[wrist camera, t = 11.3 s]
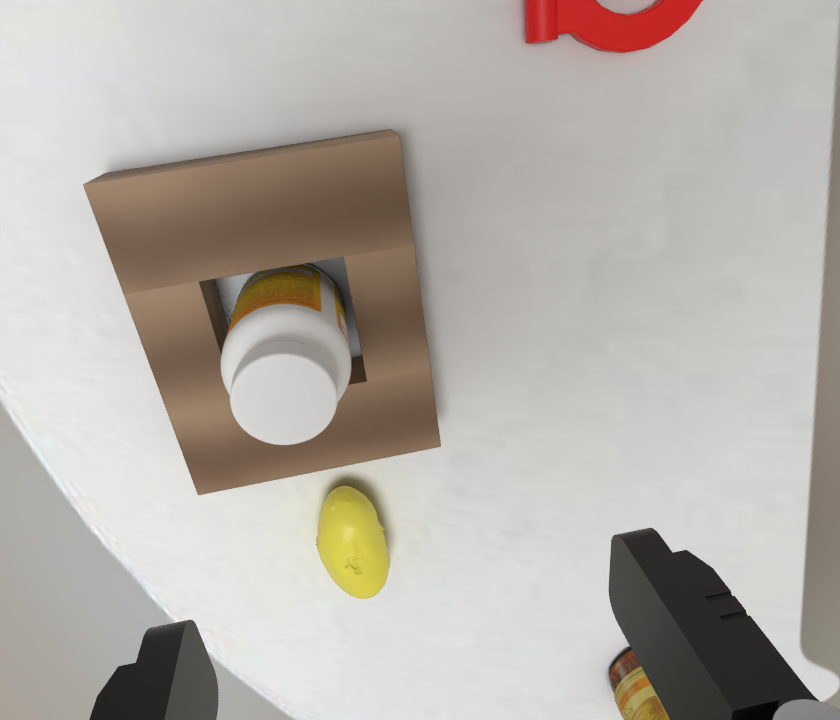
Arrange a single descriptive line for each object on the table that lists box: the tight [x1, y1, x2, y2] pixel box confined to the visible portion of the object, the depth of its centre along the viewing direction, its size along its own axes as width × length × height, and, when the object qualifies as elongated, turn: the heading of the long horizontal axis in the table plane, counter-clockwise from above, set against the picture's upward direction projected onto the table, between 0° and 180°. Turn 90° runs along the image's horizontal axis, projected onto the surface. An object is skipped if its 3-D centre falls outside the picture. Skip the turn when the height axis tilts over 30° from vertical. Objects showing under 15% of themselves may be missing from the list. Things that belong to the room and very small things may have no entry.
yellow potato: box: [316, 486, 390, 599], centre depth 36 cm, size 4×8×4 cm, turn 5°
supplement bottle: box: [221, 264, 351, 445], centre depth 27 cm, size 5×5×10 cm
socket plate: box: [83, 129, 441, 495], centre depth 30 cm, size 16×13×3 cm
